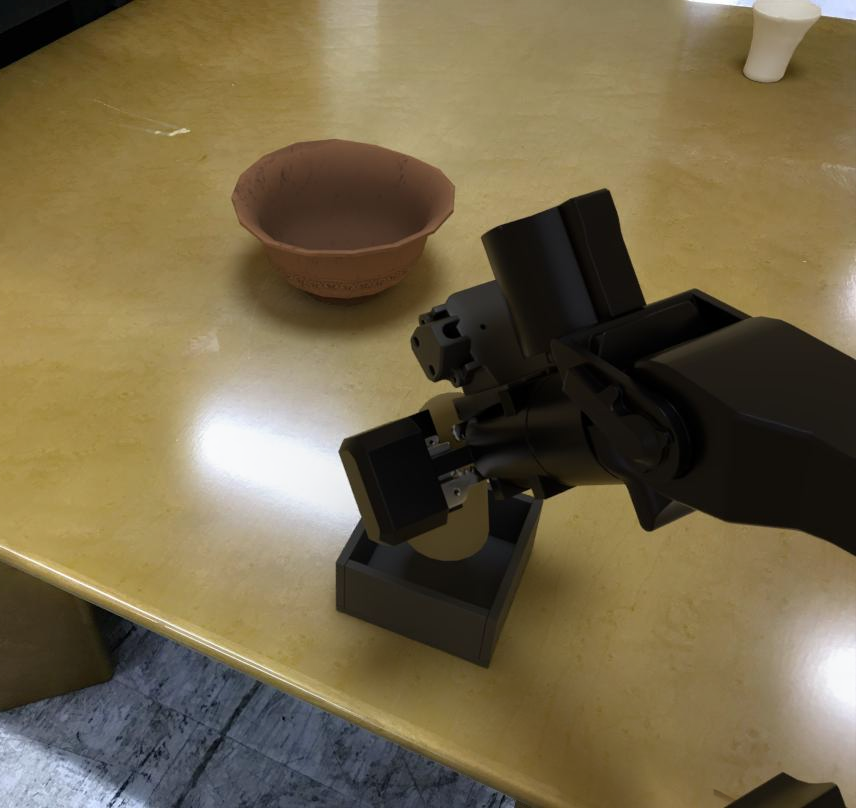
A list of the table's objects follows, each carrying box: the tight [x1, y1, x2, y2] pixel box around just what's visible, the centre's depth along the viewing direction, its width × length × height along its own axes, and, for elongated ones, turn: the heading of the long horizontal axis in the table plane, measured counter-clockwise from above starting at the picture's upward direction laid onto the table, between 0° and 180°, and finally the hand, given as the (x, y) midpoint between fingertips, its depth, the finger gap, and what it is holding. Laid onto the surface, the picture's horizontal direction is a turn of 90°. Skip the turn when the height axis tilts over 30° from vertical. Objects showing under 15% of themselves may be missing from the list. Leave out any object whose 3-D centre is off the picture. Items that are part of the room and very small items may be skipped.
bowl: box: [230, 138, 456, 307], centre depth 91 cm, size 22×22×11 cm
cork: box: [407, 391, 489, 561], centre depth 59 cm, size 6×6×11 cm
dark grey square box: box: [335, 481, 544, 669], centre depth 65 cm, size 11×11×6 cm
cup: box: [742, 0, 823, 84], centre depth 127 cm, size 9×9×10 cm
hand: (441, 447), depth 59 cm, fingers closed on cork, 5 cm apart
